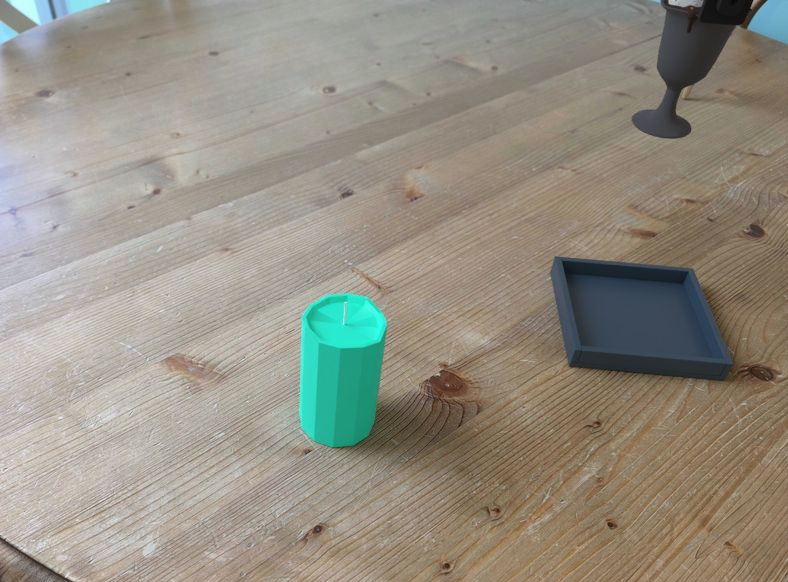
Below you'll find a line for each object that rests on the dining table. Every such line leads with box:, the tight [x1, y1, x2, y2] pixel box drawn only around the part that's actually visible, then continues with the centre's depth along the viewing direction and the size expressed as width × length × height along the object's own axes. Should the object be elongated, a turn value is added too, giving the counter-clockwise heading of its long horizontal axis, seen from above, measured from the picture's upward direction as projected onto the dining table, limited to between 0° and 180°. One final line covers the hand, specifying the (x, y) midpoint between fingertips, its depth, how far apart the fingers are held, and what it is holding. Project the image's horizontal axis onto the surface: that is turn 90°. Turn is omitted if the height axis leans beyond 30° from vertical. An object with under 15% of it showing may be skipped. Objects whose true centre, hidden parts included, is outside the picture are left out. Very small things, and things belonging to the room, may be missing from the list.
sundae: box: [631, 0, 754, 140], centre depth 59 cm, size 7×7×15 cm
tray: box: [549, 256, 734, 381], centre depth 68 cm, size 13×13×2 cm
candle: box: [298, 292, 388, 448], centre depth 55 cm, size 6×6×12 cm
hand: (707, 2), depth 57 cm, fingers closed on sundae, 6 cm apart
